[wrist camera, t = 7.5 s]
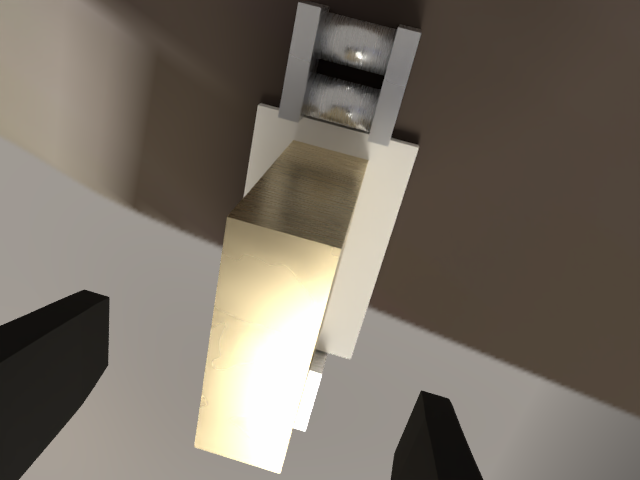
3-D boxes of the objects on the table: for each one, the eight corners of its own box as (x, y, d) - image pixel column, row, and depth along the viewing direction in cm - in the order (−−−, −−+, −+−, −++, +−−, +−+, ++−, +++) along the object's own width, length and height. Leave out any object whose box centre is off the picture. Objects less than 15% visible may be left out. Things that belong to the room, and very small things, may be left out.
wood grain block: (368, 160, 15) (341, 249, 10) (320, 336, 19) (279, 473, 13) (293, 140, 15) (227, 216, 10) (258, 318, 19) (194, 446, 13)
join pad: (418, 144, 15) (418, 147, 15) (351, 354, 19) (350, 359, 19) (260, 102, 15) (258, 105, 15) (226, 317, 19) (223, 321, 19)
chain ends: (421, 29, 14) (421, 33, 13) (312, 404, 21) (305, 431, 19) (309, 1, 14) (298, 2, 13) (238, 382, 21) (226, 407, 20)
